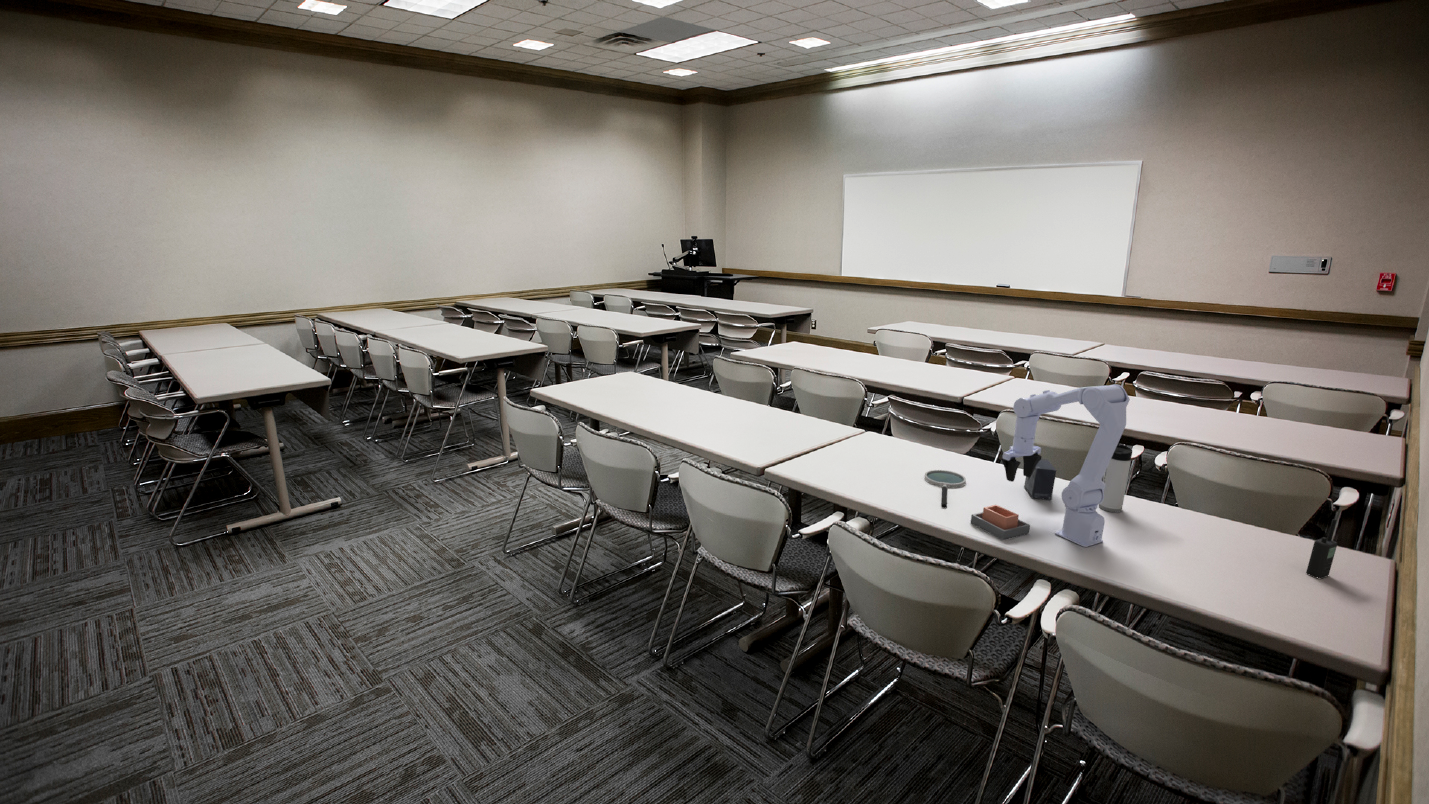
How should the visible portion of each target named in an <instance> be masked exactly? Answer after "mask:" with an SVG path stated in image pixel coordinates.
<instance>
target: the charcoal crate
mask: <svg viewBox="0 0 1429 804" xmlns="http://www.w3.org/2000/svg"><path fill="white" fill-rule="evenodd" d="M982 516H983V511H982V512H977V513H973V514H971V517H970V524H971V525H973V524H974V526H975V527H977V528H979V529H981V530H982V531H985V532H986V533H988V534H989V535H992V536H993V537H996V538H997V539H1000V540H1001V541H1006V540H1011V539H1014V538H1018V537H1022V536H1027V535H1030V529H1031V524H1029V523H1027V522H1025V521H1023V520H1020V519H1019V518H1018V524H1017V527H1015V528H1011V529H1007V530H1003V529H1001V528H999V527H997V526H995V525H993V524H991V523H989V522H987V521H985V520H984V519H982Z"/></svg>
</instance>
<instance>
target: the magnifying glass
mask: <svg viewBox="0 0 1429 804" xmlns="http://www.w3.org/2000/svg"><path fill="white" fill-rule="evenodd" d="M924 477H925V478H924V480H925V482H927V481H928V482H927V483H929V484H931V485H933V484H935V485H934V486H936V485H937V487H940V488H941V506H940V507H941V508H945V507H946V508H947V507H948V487H952V488H953V487H954V488H960V487H963V486H965V485H966V482H967V481H966V477H965V476H964V475H963V474H961V473H958V472H955V471H952V470H946V469H933V470H927V471H926V472H925V473H924ZM964 484H965V485H964Z"/></svg>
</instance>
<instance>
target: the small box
mask: <svg viewBox="0 0 1429 804" xmlns="http://www.w3.org/2000/svg"><path fill="white" fill-rule="evenodd" d="M1056 475H1057V469H1056V468H1055V466H1054V465H1053V464H1052V463H1051V461H1050V460H1049V459H1046V458H1045V459H1044V458H1041V460H1040V461H1039V462H1038V463H1037V465H1036V467H1035V469H1034V471H1033V473H1032V475H1031V477H1030V478H1029V477H1026V476H1025V480H1024V484H1023V485H1024V486H1023V487H1024V489H1025V491H1026V492H1027V493H1028V495H1029V497H1030V498H1031V499H1038V500H1047V501H1052V499H1053V492H1054V487H1055V481H1056Z"/></svg>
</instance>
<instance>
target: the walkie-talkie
mask: <svg viewBox="0 0 1429 804" xmlns="http://www.w3.org/2000/svg"><path fill="white" fill-rule="evenodd" d="M1336 525H1337V519H1335V518H1333V519H1332V520H1331V524H1330V526H1329V531H1328V534H1327V537H1324V536H1323V537H1321V538H1319V539H1315V540H1314V542H1313V545H1312V548H1311V549H1312V550H1311V554H1310V557H1309V561H1308V564H1307V567H1306V573H1307V574H1306V573H1305V574H1306V575H1308V574H1310V575H1312V576H1311V577H1313V576H1314V577H1313V578H1315V577H1318V578H1321V579H1323V577H1324V578H1326V576H1327V577H1328V575H1329V576H1330V572H1331V568H1332V565H1333V561H1334V559H1335V558H1334V557H1335V554H1336V551H1337V548H1338V542H1337V541H1335V540H1332V539H1333V536H1334V535H1333V534H1334V532H1335V529H1336ZM1310 575H1309V576H1310ZM1318 578H1317V579H1318Z"/></svg>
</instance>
